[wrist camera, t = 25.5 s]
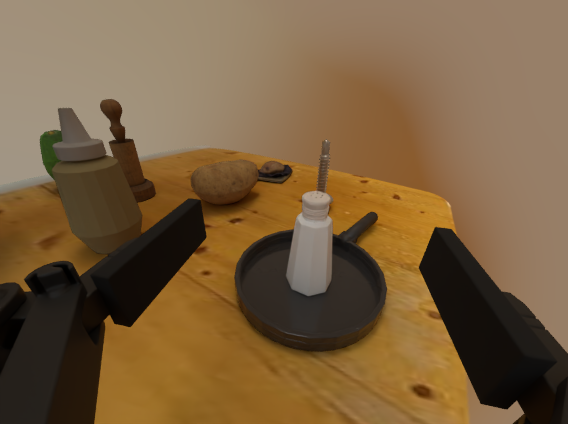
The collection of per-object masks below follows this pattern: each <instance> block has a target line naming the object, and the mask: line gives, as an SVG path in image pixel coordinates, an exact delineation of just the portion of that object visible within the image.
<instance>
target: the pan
mask: <svg viewBox="0 0 568 424" xmlns="http://www.w3.org/2000/svg"><path fill="white" fill-rule="evenodd" d="M293 233H294V229H293V230H286V231H280V232H277V233H274V234H271V235H268V236H265V237H263V238H261V239H260V240H258V241H256V242H254V243H253V244H252V245H251V246H250V247H249V248H248V249H247V250H246V251H244V253H243V254H242V256H241V258H240V259H239V261H238V263H237V266H236V272H235V288H236V293H237V299H238V303H239V306H240V308H241V310H242V312H243V314H244V315H245V317H246V318H247V320H248V321H249V322H250V323H251V324H252V325H253V326H254V327H255V328H256V329H257V330H258V331H259V332H261V333H262V334H263V335H264V336H266V337H268V338H269V339H271V340H273V341H275V342H277V343H279V344H282V345H284V346H287V347H290V348H294V349H298V350H304V351H320V352H321V351H331V350H336V349H340V348H344V347H347V346H349V345H351V344H354V343H356V342H357V341H359V340H360V339H362V338H364V337H365V336H366V335H367V334H368V333H369V332H370V331H371V330H372V329H373V327H374V326H375V325H376V323H377V321H378V319H379V317H380V316H381V314H382V311H383V308H384V305H385V299H386V293H387V287H386V282H385V278H384V274H383V272H382V271H381V269H380V267H379V266H378V264H377V262H376V261H375V260H374V259H373V258H372V257H371V256H370V255H369V254H368V253H367V252H366V251H365V250H364V249H362V248H361V247H359V246H358V245H356V244H355V243H353V242H351V241H346V242H348V243H350V245H349V249H347V247H346V246H343V245H341V244H340V245H339V244H336V240H337V238H339V237H337V236H338V235H335V234H332V275H331V282H330V284H329V286H328V288H327V290H326V292H324V293H320V294H316V295H311V296H307V295H304V294H302V293H299V292H297V291H295V290H292V289H291V287H290V284H289V282H288V280H287V277H286V273H287V267H288V261H289V256H290V250H291V244H292V238H293ZM339 239H341V238H339ZM341 240H342V239H341ZM339 241H340V240H339ZM339 243H340V242H339Z"/></svg>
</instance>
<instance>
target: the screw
mask: <svg viewBox="0 0 568 424" xmlns="http://www.w3.org/2000/svg"><path fill="white" fill-rule="evenodd" d="M329 146H330V142H329V141H328V140H327V139H326V140H324V141H323V142H322V151H321V155H320V156H321V157H320V159H319V160H320V162H319V163H320V165H319V169H318V170H319V172H318V173H319V175H317V176H318V178H317V179H318V181H317V182H318V184H317V187H316V188H317V190H316V191H319V192H323V193H326V192H325V191H326V187H327V186H326V185H327V183H326V182H327V178H328V177H327V175H328V169H329V167H328V166H329V164H328V163H329V159H330V158H329V155H330V154H329V148H330V147H329ZM326 194H327V193H326ZM328 195H329V194H328ZM329 196H330V195H329ZM330 198H331V201H330V204H331V203H332V202H333V198H332V197H331V196H330Z"/></svg>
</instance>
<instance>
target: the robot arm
mask: <svg viewBox="0 0 568 424" xmlns="http://www.w3.org/2000/svg"><path fill="white" fill-rule="evenodd" d="M205 239H206V231H205V224H204V218H203V212H202V206H201V200H198V199H188V200H186V201H185V202H184V203H182V204H181V205H180V206H178V207H177V208H176V209H175V210H173V211H172V212H171V213H169V214H168V215H167V216H166V217H164V218H163V219H162V220H160V221H159V222H158V223H156V224H155V225H154V226H153V227H151V228H150V229H149V230H147V231H146V232H145V233H144V234H142V235H141V236H140V237H138V238H137V237H136V238H134V239H132V240H130V241H127V242H125V243H124V244H122V245H121V246H120V247H118V248H117V249H116V250H115V251H113V252H112V253H110V254H109V255H108V257H105V258H104V259H102V260H101V261H100V262H98V263H97V264H96V265H94V266H93V267H92V268H90V269H89V270H88V271H86V272H85V273H84V274H82V275H81V276H80V277H79V275H78V273H77V271H76V269H75V267H74V266H73V264H72V263H71V262H69V261H59V262H53V263H50V264H47V265H44V266H42V267H40V268H38V269H36V270H34V271H33V272H31V273H30V274H28V276H27V277H26V278H25V279H24V281H25V282H26V283H27V285H28V286H29V288H30V289H31V291H30V292H24V291H23V289H22V288H21V287H20V285H19V284H17V283H4V284H0V424H94V420H95V412H96V403H97V394H98V386H99V377H100V369H101V360H102V351H103V343H104V334H105V323H104V320H105V319H106V318H107V317H108V316H109V315H110V316H111V318H112V320H113V322H114V324H118V325H123V326H127V327H131V326H132V325H133V324H134V322H135V321H136V320H137V319H138V318H139V316H140V315H141V314H142V313H143V312H144V311H145V309H146V308H147V307H148V306H149V305H150V303H151V302H152V301H153V300H154V299H155V298H156V296H157V295H158V294H159V293H160V292H161V290H162V289H163V288H164V287H165V286H166V285H167V283H168V282H169V281H170V280H171V279H172V278H173V276H174V275H175V274H176V273H177V272H178V270H179V269H180V268H181V267H182V266H183V265H184V263H185V262H186V261H187V260H188V259H189V257H190V256H191V255H192V254H193V253H194V252H195V250H196V249H197V248H198V247H199V246H200V244H201V243H202V242H203V241H204V240H205ZM419 269H420V271H421V274H422V276H423V278H424V280H425V282H426V285H427V287H428V289H429V291H430V293H431V296H432V298H433V300H434V302H435V304H436V307H437V309H438V311H439V313H440V315H441V318H442V320H443V322H444V324H445V326H446V329H447V331H448V333H449V335H450V337H451V339H452V342H453V344H454V346H455V348H456V350H457V353H458V355H459V357H460V359H461V361H462V364H463V366H464V368H465V370H466V372H467V375H468V377H469V379H470V381H471V383H472V385H473V388H474V390H475V392H476V394H477V397H478V399H479V401H480V403H481V404H484V405H489V406H493V407H498V408H502V409H508V408H509V407H510V406H511V405H512V404H513V403H514V402H516V401H518V403H519V405H520V406H521V408H522V410H523V411H524V414H523V415H522V416H521V417H520V418H519V419H518V420H516V421H515V422H514V423H513V424H568V353H567V352H566V351H565V350H564V349H563V348H562V347H561V345H560V344H559V343H558V342H557V341H556V340H555V339H554V337H553V336H552V335H551V334H550V333H549V332H548V330H545V327H544V326H543V325H542V323H541V322H540V321H539V320H538V319H536V317H535V315H534V314H533V313H532V312H531V311H530V309H529V308H528V307H527V306H526V305H525V304H524V303H523V302H521V301H520V300H519V299H517V298H516V297H515V296H513V295H512V294H511V293H508V292H501V290H500V289H499V288H498V287H497V285H496V284H495V283H494V282H493V280H492V279H491V278H490V277H489V275H488V274H487V273H486V272H485V270H484V269H483V268H482V267H481V265H480V264H479V263H478V262H477V260H476V259H475V258H474V257H473V256H472V254H471V253H470V252H469V251H468V249H467V248H466V247H465V246H464V244H463V243H462V242H461V241H460V239H459V238H458V237H457V236H456V234H455V233H454V232H453V231H452V229H447V228H438V227H435V229H434V231H433V234H432V236H431V239H430V241H429V243H428V246H427V248H426V251H425V253H424V256H423V258H422V261H421V263H420V266H419Z"/></svg>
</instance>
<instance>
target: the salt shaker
mask: <svg viewBox="0 0 568 424" xmlns="http://www.w3.org/2000/svg"><path fill="white" fill-rule="evenodd" d="M302 201H303V204H302V210H303V211H302V212H301V213H300V214H299V215H298V216H297V218H296V222H295V227H294V233H293V238H292V244H291V250H290V256H289V261H288V267H287V273H286V277H287V280H288V282H289V284H290V287H291V289H292V290H295V291H297V292H299V293H302V294H304V295H307V296H311V295H316V294H320V293H324V292H326V290H327V288H328V286H329V284H330V282H331V275H332V231H333V224H332V219H331V218H330V217H329V216H328V212H329V204H330V201H331V198H330V196H329V195H328V194H326V193H323V192H319V191H311V192H307V193H305V194H304V195H303V196H302Z"/></svg>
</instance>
